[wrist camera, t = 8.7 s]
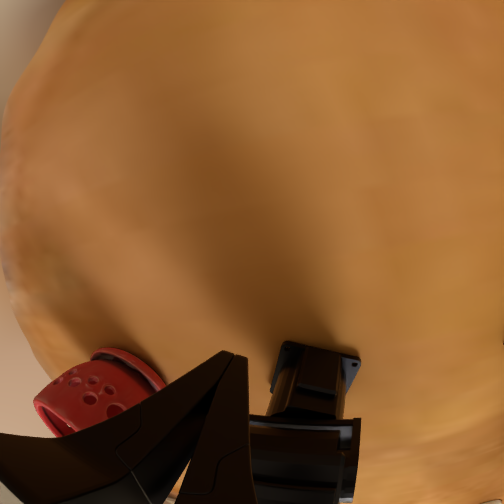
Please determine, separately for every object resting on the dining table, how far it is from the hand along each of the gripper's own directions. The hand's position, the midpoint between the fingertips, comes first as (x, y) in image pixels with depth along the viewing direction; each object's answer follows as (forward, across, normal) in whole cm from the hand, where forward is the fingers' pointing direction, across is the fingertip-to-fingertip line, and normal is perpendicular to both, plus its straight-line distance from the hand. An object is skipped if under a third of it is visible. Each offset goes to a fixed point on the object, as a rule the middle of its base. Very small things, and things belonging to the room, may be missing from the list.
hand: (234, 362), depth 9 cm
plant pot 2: (+12, +15, +22) cm, 29 cm away
